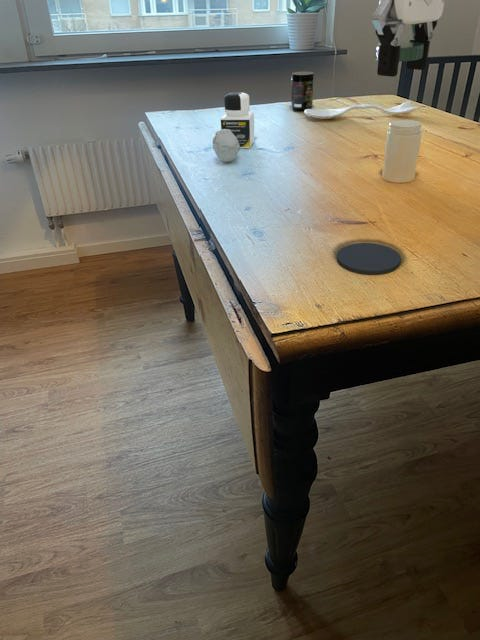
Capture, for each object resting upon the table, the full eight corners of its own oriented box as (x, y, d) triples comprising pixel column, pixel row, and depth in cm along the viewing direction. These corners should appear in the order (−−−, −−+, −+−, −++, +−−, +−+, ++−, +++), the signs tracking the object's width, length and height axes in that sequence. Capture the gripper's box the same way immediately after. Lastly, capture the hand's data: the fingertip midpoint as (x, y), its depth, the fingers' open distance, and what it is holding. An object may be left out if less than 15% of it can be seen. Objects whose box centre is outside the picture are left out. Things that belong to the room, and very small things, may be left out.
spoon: (419, 118, 142) (421, 105, 140) (305, 123, 143) (306, 110, 141) (410, 111, 149) (412, 99, 147) (302, 116, 150) (303, 103, 148)
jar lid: (366, 58, 78) (367, 45, 77) (403, 53, 80) (404, 40, 79) (394, 63, 73) (395, 49, 72) (432, 57, 75) (434, 43, 74)
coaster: (393, 245, 76) (393, 241, 75) (406, 274, 68) (407, 270, 68) (333, 246, 76) (333, 243, 76) (340, 275, 69) (340, 271, 69)
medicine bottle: (222, 148, 124) (218, 96, 118) (227, 140, 130) (225, 90, 124) (250, 148, 123) (248, 96, 116) (254, 141, 129) (253, 90, 122)
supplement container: (315, 107, 159) (316, 71, 153) (308, 112, 154) (310, 75, 148) (295, 107, 162) (295, 71, 156) (288, 111, 156) (288, 74, 151)
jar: (409, 172, 104) (417, 118, 98) (418, 182, 98) (427, 126, 93) (378, 173, 104) (384, 120, 98) (385, 183, 99) (392, 128, 93)
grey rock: (231, 155, 119) (230, 124, 115) (245, 162, 114) (244, 130, 110) (208, 160, 117) (206, 128, 113) (222, 167, 112) (220, 135, 108)
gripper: (406, -80, 60) (388, 82, 70) (479, -77, 69) (454, 67, 79) (356, -74, 65) (346, 78, 75) (431, -71, 74) (412, 63, 84)
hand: (401, 71), depth 77 cm, fingers closed on jar lid, 6 cm apart
